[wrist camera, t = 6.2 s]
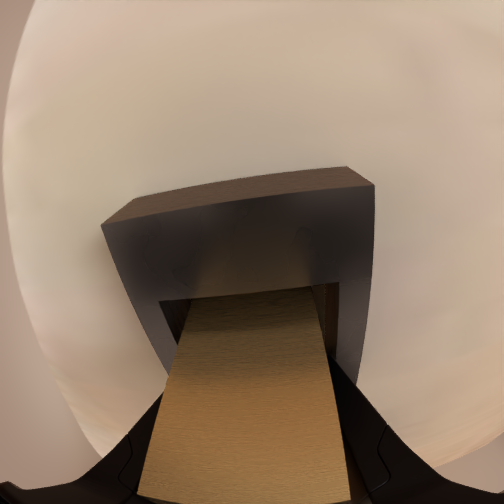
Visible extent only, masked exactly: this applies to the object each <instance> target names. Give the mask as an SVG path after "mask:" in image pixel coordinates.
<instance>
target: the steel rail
mask: <svg viewBox="0 0 504 504" xmlns="http://www.w3.org/2000/svg"><path fill="white" fill-rule="evenodd" d="M374 220H375V186H374V184H373V183H371V182H370V181H368V180H367V179H365V178H364V177H362V176H361V175H359V174H358V173H356V172H355V171H353V170H352V169H350V168H349V167H347V166H346V167H333V168H322V169H312V170H302V171H293V172H284V173H276V174H268V175H261V176H254V177H247V178H240V179H234V180H227V181H221V182H215V183H209V184H204V185H198V186H193V187H187V188H182V189H177V190H172V191H167V192H162V193H157V194H153V195H148V196H144V197H139V198H135V199H133V200H132V201H130V202H129V203H128V204H127V205H125V206H124V207H123V208H121V209H120V210H119V211H118V212H116V213H115V214H114V215H112V216H111V217H110V218H109V219H107V220H106V221H105V222H104V223H103V224H101V227H102V230H103V233H104V236H105V239H106V242H107V244H108V247H109V250H110V252H111V255H112V258H113V260H114V263H115V265H116V268H117V270H118V273H119V275H120V278H121V280H122V282H123V285H124V287H125V289H126V292H127V294H128V296H129V298H130V301H131V303H132V305H133V307H134V309H135V312H136V314H137V316H138V318H139V320H140V322H141V324H142V326H143V328H144V330H145V332H146V334H147V336H148V338H149V340H150V342H151V344H152V346H153V348H154V350H155V351H156V353H157V355H158V357H159V359H160V361H161V362H162V364H163V366H164V368H165V370H166V371H167V373H168V375H169V373H170V370H171V366H172V363H173V360H174V357H175V353H176V350H177V347H178V344H179V341H180V338H181V334H182V331H183V328H184V325H185V322H186V319H187V316H188V313H189V310H190V307H191V301H190V298H202V297H213V296H224V295H234V294H244V293H253V292H263V291H272V290H280V289H289V288H297V287H305V286H312V285H320V284H325V351H326V355H327V354H330V355H331V356H332V357H333V358H334V359H335V361H336V362H337V363H338V364H339V365H340V367H341V368H342V369H343V370H344V372H345V373H346V374H347V375H348V376H349V378H350V379H351V380H352V381H353V382H354V384H355V385H356V383H357V378H358V373H359V368H360V362H361V356H362V351H363V344H364V338H365V331H366V324H367V317H368V308H369V299H370V290H371V279H372V265H373V249H374Z"/></svg>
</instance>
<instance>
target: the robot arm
mask: <svg viewBox="0 0 504 504" xmlns="http://www.w3.org/2000/svg"><path fill="white" fill-rule="evenodd" d="M326 356H327V360H328V365H329V370H330V375H331V380H332V385H333V390H334V396H335V401H336V406H337V412H338V418H339V423H340V429H341V435H342V441H343V448H344V454H345V461H346V468H347V475H348V482H349V490H350V498H351V500H350V501H349V502H348V503H347V504H504V490H503V491H502V492H500V493H491V492H487V491H483V490H479V489H476V488H472V487H469V486H465V485H462V484H459V483H455V482H452V481H450V480H448V479H446V478H444V477H442V476H441V475H440V474H438V473H437V472H436V471H435V470H434V469H432V468H431V467H430V466H429V465H428V464H427V463H426V462H424V461H423V460H422V459H421V458H420V457H419V456H418V455H417V454H415V453H414V452H413V451H412V450H411V449H410V448H409V447H408V446H407V445H406V444H405V443H404V442H403V441H402V440H401V439H400V438H399V437H398V435H397V434H396V433H395V432H394V431H393V430H392V428H391V427H390V426H389V425H387V423H386V421H385V420H384V419H383V418H382V417H381V415H380V414H379V413H378V412H377V410H376V409H375V408H374V407H373V406H372V404H371V403H370V402H369V401H368V400H367V398H366V397H365V396H364V395H363V393H362V392H361V391H360V390H359V389H358V387H357V386H356V385H355V384H354V382H353V381H352V380H351V379H350V378H349V376H348V375H347V374H346V373H345V372H344V370H343V369H342V368H341V367H340V365H339V364H338V363H337V362H336V361H335V359H334V358H333V357H332V356H331V355H330V354H327V355H326ZM163 393H164V392H163ZM163 393H162V394H161V395H160V396H159V398H158V399H157V400H156V401H155V402H154V403H153V405H152V406H151V407H150V408H149V409H148V410H147V411H146V413H145V414H144V415H143V416H142V417H141V418H140V420H139V421H138V422H137V423H136V424H135V425H134V426H133V428H132V429H131V430H130V431H129V432H128V434H126V435H125V437H124V438H123V439H122V440H121V441H120V442H119V443H118V444H117V445H116V446H115V447H114V448H113V449H112V450H111V451H110V452H109V453H108V454H107V455H106V456H105V457H104V458H103V459H102V460H101V461H99V462H98V463H97V464H96V465H95V466H94V467H92V468H91V469H90V470H89V471H88V472H87V473H85V474H84V475H83V476H82V477H80V478H79V479H77V480H75V481H73V482H70V483H66V484H61V485H56V486H51V487H44V488H38V489H31V490H24V489H21V488H19V487H18V486H16V485H15V484H13V483H11V482H9V481H7V482H3V483H0V504H156V503H154V502H152V501H150V500H148V499H146V498H144V497H142V496H140V495H138V494H137V492H138V488H139V484H140V479H141V475H142V471H143V467H144V463H145V459H146V455H147V451H148V447H149V444H150V440H151V436H152V432H153V429H154V425H155V421H156V418H157V414H158V411H159V407H160V404H161V400H162V397H163Z"/></svg>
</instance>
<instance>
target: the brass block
mask: <svg viewBox="0 0 504 504" xmlns="http://www.w3.org/2000/svg"><path fill="white" fill-rule="evenodd" d="M137 494H138V495H140V496H142V497H144V498H146V499H148V500H150V501H152V502H154V503H156V504H347V503H348V502H349V501H350V500H351V498H350V490H349V482H348V475H347V468H346V461H345V454H344V448H343V441H342V435H341V429H340V423H339V418H338V412H337V406H336V401H335V396H334V390H333V385H332V380H331V375H330V370H329V365H328V360H327V356H326V351H325V346H324V342H323V337H322V333H321V328H320V324H319V319H318V315H317V311H316V307H315V302H314V298H313V294H312V290H311V286H305V287H297V288H289V289H280V290H272V291H263V292H253V293H244V294H234V295H224V296H213V297H202V298H193V301H192V304H191V307H190V310H189V313H188V316H187V319H186V322H185V325H184V328H183V331H182V334H181V338H180V341H179V344H178V347H177V350H176V353H175V357H174V360H173V363H172V366H171V370H170V373H169V376H168V380H167V383H166V386H165V390H164V393H163V397H162V400H161V404H160V407H159V411H158V414H157V418H156V421H155V425H154V429H153V432H152V436H151V440H150V444H149V447H148V451H147V455H146V459H145V463H144V467H143V471H142V475H141V479H140V484H139V488H138V492H137Z"/></svg>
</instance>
